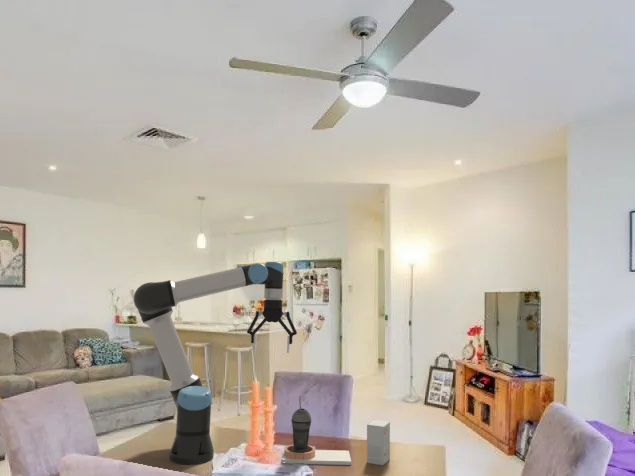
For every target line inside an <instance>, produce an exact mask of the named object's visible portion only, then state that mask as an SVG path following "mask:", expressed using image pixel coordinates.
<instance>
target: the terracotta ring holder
mask: <svg viewBox="0 0 635 476" xmlns="http://www.w3.org/2000/svg"><path fill="white" fill-rule="evenodd" d="M315 450H316V447H315V446H313V445H308V447H307V452H305V453H295V452H294V448H293V444H290V445H289V444H288V445H287V446H285V447H284V449H283V451H284V456H285V457H287V458H290V459H294V460H306V459H311V458H313V457H315Z"/></svg>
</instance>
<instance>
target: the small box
mask: <svg viewBox="0 0 635 476" xmlns="http://www.w3.org/2000/svg"><path fill="white" fill-rule="evenodd" d="M390 450H391V422H390V421H387V420H378V419H373V420H372V421H370V422H368V423H367V424H366V463H367V464H373V465H377V466H385V464H387V463H388V461H389V460H390V459H391V451H390Z"/></svg>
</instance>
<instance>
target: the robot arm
mask: <svg viewBox="0 0 635 476" xmlns="http://www.w3.org/2000/svg"><path fill="white" fill-rule="evenodd" d="M253 285H264V295H263V296H264V297H263V298H264V300H263V311H261V310H256V311H255V316H254V318H253V319H252V322H251V323H250V325H249V327H248V329H247V331H246V333H247V334H249V335H250V337H251V338H250V343H251V344H253V350H252V351H253V352H254V353H256V352H257V338H258V337H257V336H258V335H256V334H257V332H258V331H260V329H261V328H262V327H263V326H264V325H265V323H266V322H267V323H279V324H280V325H281V327H282V328H283V329H284V330H285V332H286V333H287V334H288V335H287V341H286V342H287V343H286V344H287V345H286V347H287V348H286V349H287V350H286V353H288V354H289V353H290V345H292V344H293V336H296V335H297V334H298V332H297V329H296V327H295V325H294V322H293V320H292V319H291V314H290V311H285V312H284V311H283V300H282V299H283V293H284V290H283V288H284V287H283V286H284V264H283V263H282V262H281V261H267V262H265V265H264V264H263V263H259V262H255V263H252V264H247V265H245V264H244V265H241V264H240V265H237V267H236V268H235V267H234V268H231V269H226V270H222V271H218V272H212V273H209V274H205V275H204V274H203V275H199V276H195V277H190V278H186V279H182V280H179V281H173V280H172V279H170V280H165V281H157V282H155V281H154V282H151V281H150V282H145V283H143V284H140V286H139V287H137V289H135V292H134V295H133V303H134V306H135V308H136V309H137V312H138V313H139V316H140V318H141V319H140V320H141V321H142V323H143V325H147V326H148V327H149V330H150V332H151V335H152V338H153V340H154V342H155V346H156V347H157V349H158V353H159V355H160V357H161V360H162V363H163V366H164V368H165V370H166V373H167V375H168V378H169V380H170V383H171V384H170V388H169V392H170V394H171V397H172V400H173V403H174V405H175V407H176V426H175V437H174V440H173V441H172V442H173V443H172V445H171V448H170V450H169V457H168V458H169V461H170V462H172V463H174V464H178V465H198V464H202V463H206V462H209V461H211V460H212V459H213V458H214V446H213V441H212V438H211V435H210V433H211V432H210V431H211V411H212V402H213V397H212V391H211V389H210V388H208V387H204V386H203V384H202V380H201V378H200V376H199V375H197V374H194V371H193V370H192V367H191V365H190V364H191V363H190V362H189V359H188V357H187V354H186V351H185V350H184V347H183V343H182V341H181V339H180V337H179V334H178V331H177V329H176V327H175V324H174V321H173V318H172V314H173V312H174V309H173V307H177V305H178V304H179V303H181V302H185V301H191V300H194V299H198V298H203V297H207V296H211V295H215V294H218V293H223V292H228V291H231V290H235V289H239V288H240V289H241V288H244V287H248V286H253ZM261 316H263V317H264V318H263V319H262V320H261V321H260V323H259V324H258V325H257V326H256V328H254V326H255V325H256V323H257V321H258V319H259V317H261ZM283 316H284V317H285V318H286V319H287V322H288V323H289V326H290V328H289V327H288V325H286V324H285V323H284V321H283V319H282V317H283ZM253 328H254V330H253ZM290 329H291V330H290ZM252 330H253V331H252Z"/></svg>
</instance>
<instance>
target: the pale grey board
mask: <svg viewBox="0 0 635 476" xmlns="http://www.w3.org/2000/svg"><path fill="white" fill-rule="evenodd" d="M282 462H285V463H304V464H303V465H329V466H331V465H332V466H333V465H335V466H336V465H338V466H352V459H351V455H350V450H338V449H337V450H333V449H331V450H330V449H329V450H328V449H315V457H313V458H311V459H306V460H294V459H290V458H287V457H285V456H284V450H283V452H282V458H281V463H282Z"/></svg>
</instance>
